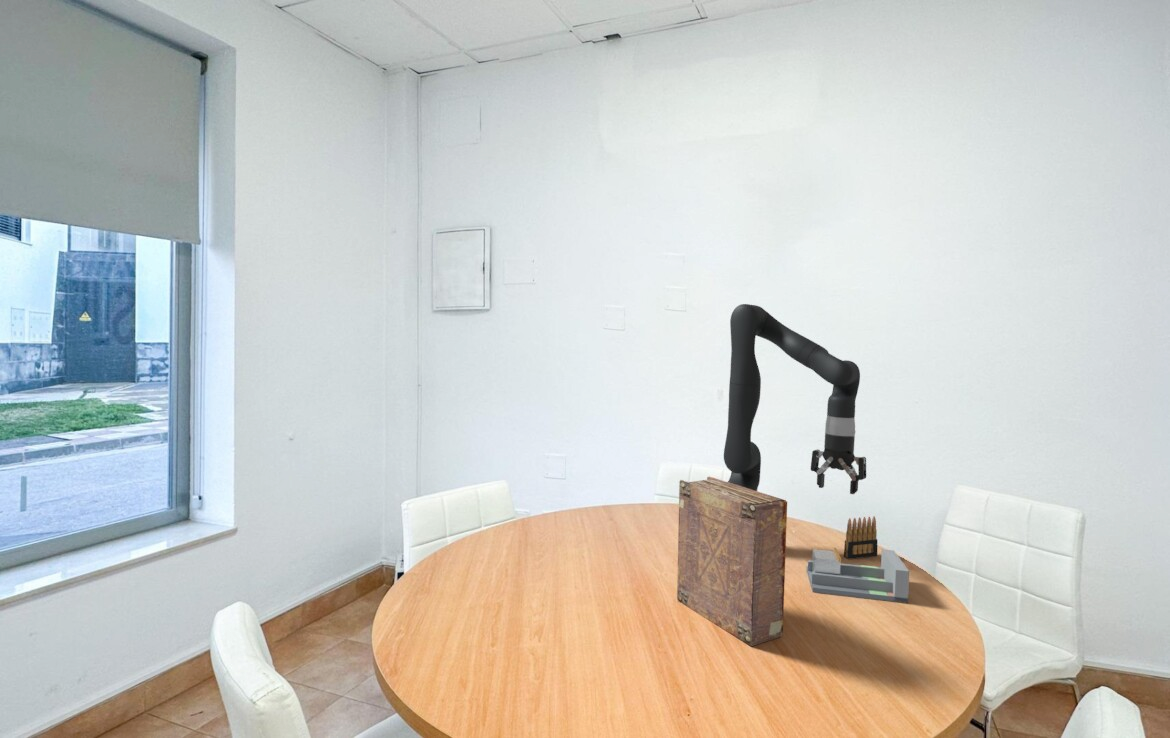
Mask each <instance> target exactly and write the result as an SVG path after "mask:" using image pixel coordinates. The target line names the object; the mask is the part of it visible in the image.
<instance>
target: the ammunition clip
mask: <svg viewBox="0 0 1170 738" xmlns="http://www.w3.org/2000/svg"><path fill="white" fill-rule="evenodd" d="M871 519H872V520H871ZM877 535H878V534H877V520H876V516H874V515H873V517H872V518H871V516H868V518H866V517H865V516H864V517H863V518H862V519H861V517H858V520H857V518H856V517H853V520H851V518H848V520H847V527H846V533H845V540H844V549H843V550H844V551H843V557H844V558H845V559H847V560H853V559H861V558H863V559H864V558H872V557H878V539H877Z"/></svg>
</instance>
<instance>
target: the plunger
mask: <svg viewBox="0 0 1170 738" xmlns="http://www.w3.org/2000/svg"><path fill="white" fill-rule="evenodd" d="M841 562H842V557H841V556H840V553H839V551H838V549H837V547H833V550H825V549H824V550H823V549H815V548H814V549H812V572H813V573H822V574H832V575H840V565H841V564H842V563H841Z"/></svg>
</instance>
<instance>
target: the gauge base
mask: <svg viewBox="0 0 1170 738" xmlns="http://www.w3.org/2000/svg"><path fill="white" fill-rule="evenodd" d="M880 554H881V555H880V556H881V560H880V561H881V564H880V567H879V566H874V565H862V564H860V565H859V564H849V563H841V565H840V575H832V574H822V573H813V572H812V560H809V559H807V565H806V568H805V569H806V575H807V577H808V580H809V584H810V587H811V590H812V593H815V594H816V593H817V594H827V595H833V596H842V597H851V598H858V599H860V598H861V599H868V600H876V601H886V602H895V603H903V604H909V590H910V589H909V588H910V587H909V586H910V585H909V584H910V570H909V569H908V568H907V566H906V565H905V563H904V562H903V561H902V560H901V558H900V556H898V554H897V553H896V551H895V550H893V549H884V548H883V549H881V553H880Z"/></svg>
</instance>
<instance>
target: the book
mask: <svg viewBox="0 0 1170 738" xmlns="http://www.w3.org/2000/svg"><path fill="white" fill-rule="evenodd" d="M678 489H679V492H678V494H679V495H678V496H679V497H678V532H677V533H678V537H677V538H678V540H677V541H678V543H677V544H678V545H677V546H678V547H677V586H676V587H677V588H676V589H677V594H676V595H677V596H676V599H677V601H678V602H679V603H681V604H682V605H683V606H686V608H689V609H690V610H691V611H694V613H696V614H698V615H699V616H701V617H703V618H704V619H706V620H707V621H709V622H711V623H712V624H714V625H716V626H718V627H719V628H721V629H722V630H724V631H725V632H727V633H728V634H730V635H732V636H733V637H735V638H736V639H738V640H739V641H741V642H743V643H745V644H747V646H749V647H755V646H757V645H760V644H763V643H766V642H769V641H772V640H775V639H780V638H781V637H783V635H784V634H783V633H784V608H785V581H786V579H785V578H786V577H785V575H786V551H787V550H786V548H787V519H788V501H787V500H786V499H783V498H779V497H776V496H773V495H771V494H767V493H763V492H760V491H758V490H757V491H754V490H751V489H748V488H745V487H742V486H738V485H735V484H732V483H729V482H728V481H725V480H722V479H719V478H715V477H712V476H707V478H706V479H703V480H695V481H686V480H684V479H680V480H679V486H678Z"/></svg>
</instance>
